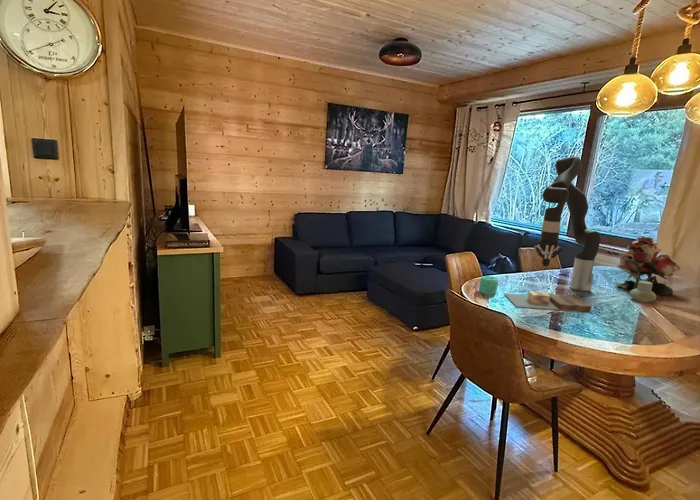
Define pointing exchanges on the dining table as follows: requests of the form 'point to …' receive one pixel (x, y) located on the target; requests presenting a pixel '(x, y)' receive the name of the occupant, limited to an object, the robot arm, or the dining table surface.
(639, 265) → the rose bouquet
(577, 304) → the walnut board
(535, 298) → the beech block
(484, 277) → the green cylinder
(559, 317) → the dining table surface
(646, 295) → the air freshener
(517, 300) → the slate mat
